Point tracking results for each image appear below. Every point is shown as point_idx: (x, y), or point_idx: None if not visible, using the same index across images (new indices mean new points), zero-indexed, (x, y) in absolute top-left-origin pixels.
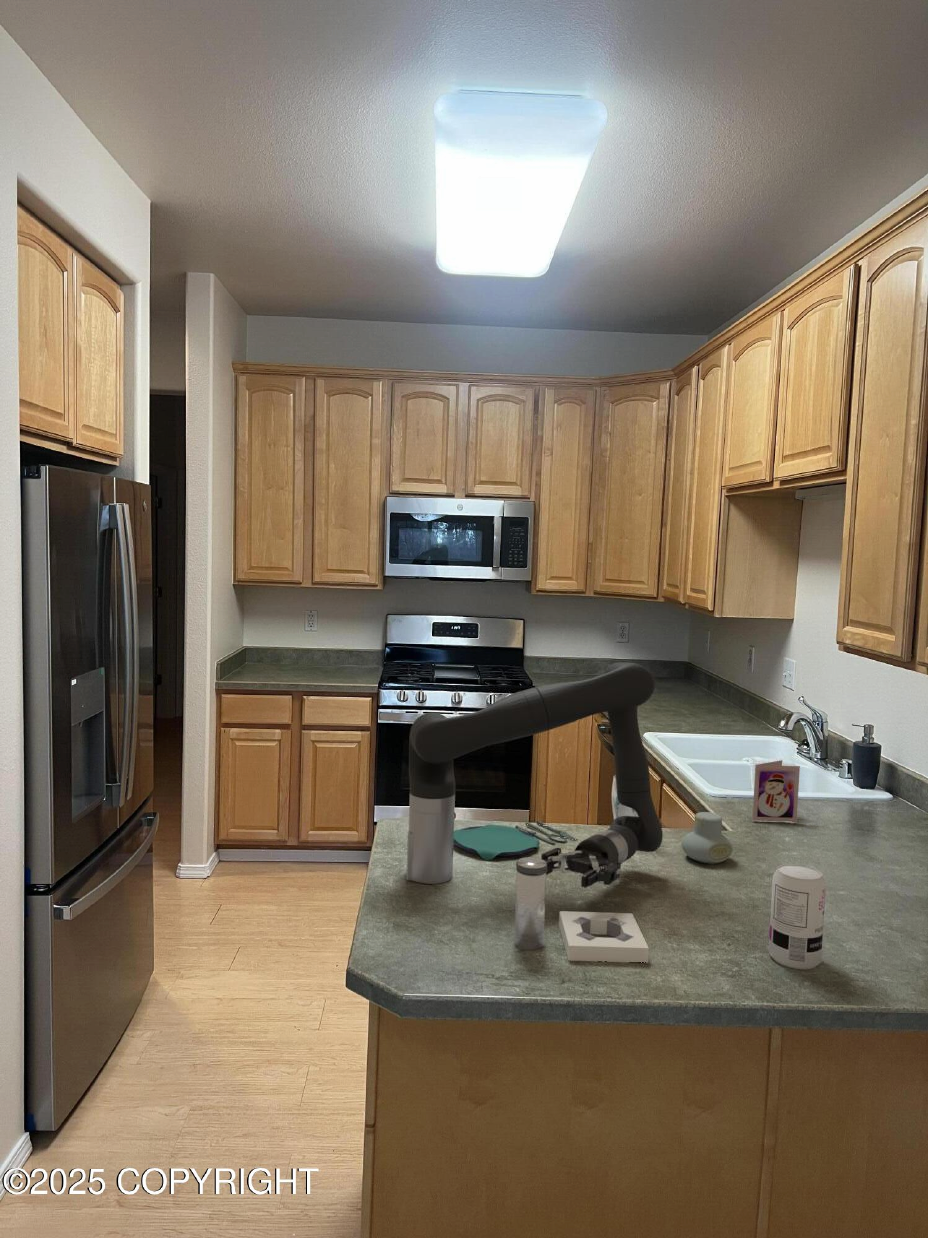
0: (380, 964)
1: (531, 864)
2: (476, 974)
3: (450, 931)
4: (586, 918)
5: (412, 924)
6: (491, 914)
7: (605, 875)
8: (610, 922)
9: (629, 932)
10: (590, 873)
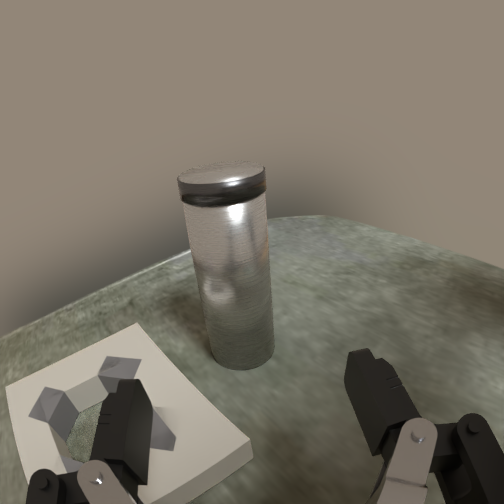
0: (330, 224)
1: (213, 168)
2: None
3: (373, 292)
4: (154, 448)
5: (419, 272)
6: (410, 374)
7: (60, 476)
8: None
9: (37, 430)
10: (111, 420)
